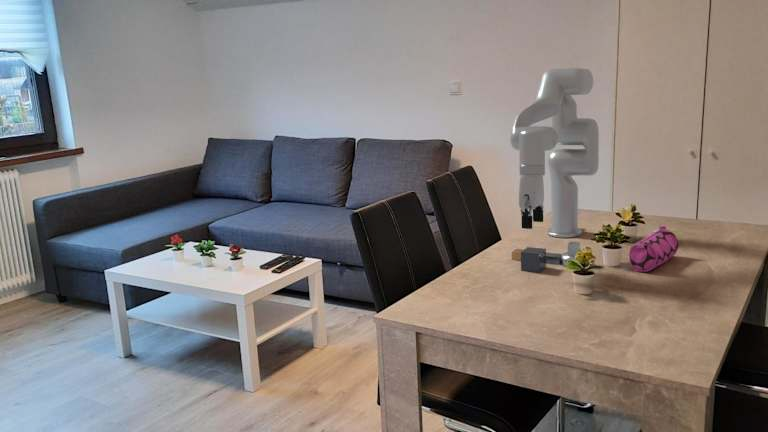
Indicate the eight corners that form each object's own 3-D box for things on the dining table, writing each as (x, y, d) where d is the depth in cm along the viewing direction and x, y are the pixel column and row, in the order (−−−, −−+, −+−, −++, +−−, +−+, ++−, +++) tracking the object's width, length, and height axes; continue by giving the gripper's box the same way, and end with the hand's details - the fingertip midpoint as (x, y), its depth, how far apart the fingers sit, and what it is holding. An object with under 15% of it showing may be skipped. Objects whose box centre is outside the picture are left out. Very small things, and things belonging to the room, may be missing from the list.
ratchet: (509, 261, 217) (509, 240, 215) (518, 254, 223) (518, 234, 221) (582, 269, 204) (582, 247, 203) (589, 262, 210) (589, 241, 209)
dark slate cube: (527, 265, 211) (527, 247, 210) (546, 267, 208) (545, 248, 207) (521, 270, 206) (520, 252, 205) (539, 272, 203) (539, 253, 202)
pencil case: (647, 253, 216) (648, 223, 214) (678, 256, 210) (680, 226, 208) (625, 271, 200) (625, 239, 198) (658, 275, 194) (659, 243, 192)
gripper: (530, 165, 209) (530, 218, 213) (509, 174, 195) (510, 230, 198) (553, 166, 205) (553, 220, 209) (534, 174, 191) (534, 232, 194)
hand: (532, 225), depth 204 cm, fingers open, 9 cm apart
